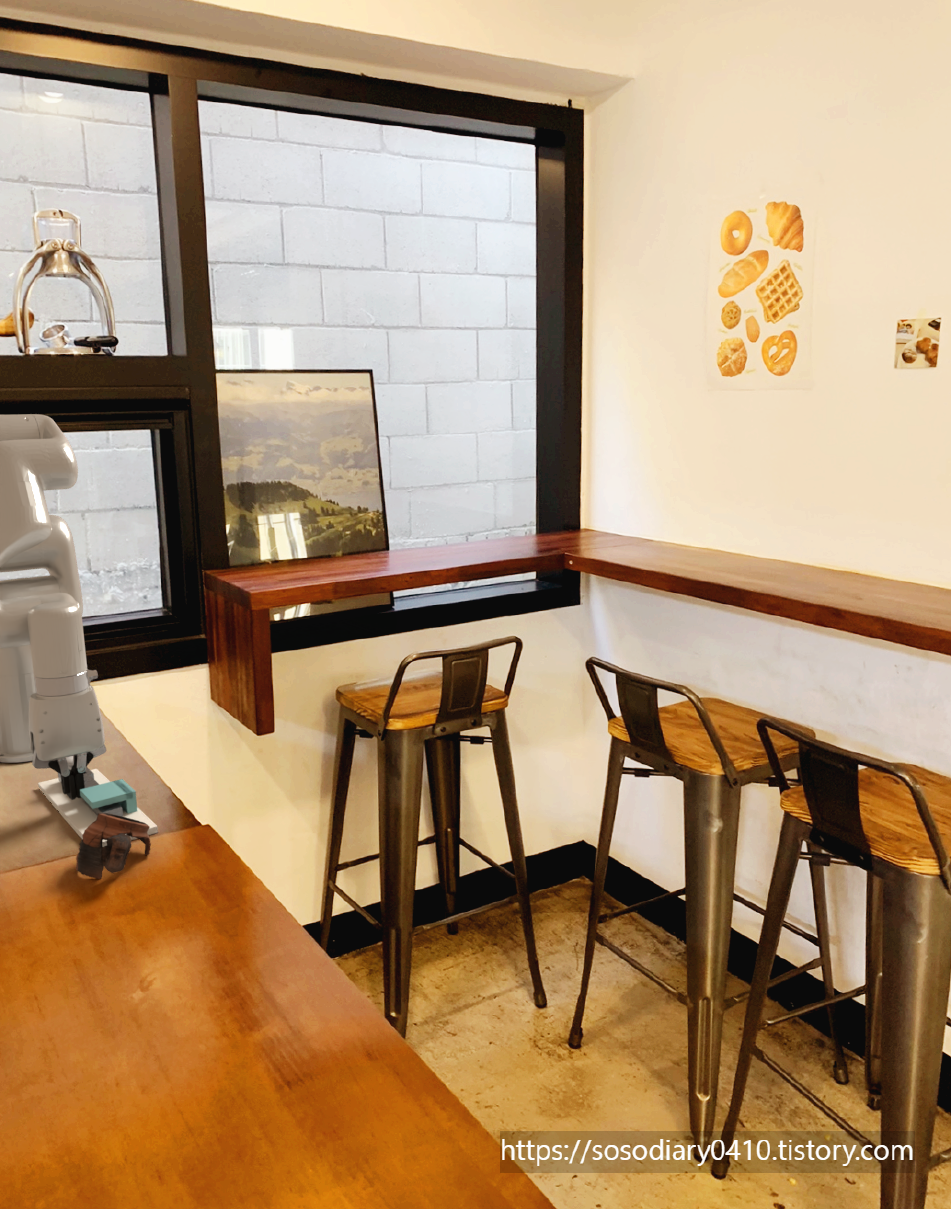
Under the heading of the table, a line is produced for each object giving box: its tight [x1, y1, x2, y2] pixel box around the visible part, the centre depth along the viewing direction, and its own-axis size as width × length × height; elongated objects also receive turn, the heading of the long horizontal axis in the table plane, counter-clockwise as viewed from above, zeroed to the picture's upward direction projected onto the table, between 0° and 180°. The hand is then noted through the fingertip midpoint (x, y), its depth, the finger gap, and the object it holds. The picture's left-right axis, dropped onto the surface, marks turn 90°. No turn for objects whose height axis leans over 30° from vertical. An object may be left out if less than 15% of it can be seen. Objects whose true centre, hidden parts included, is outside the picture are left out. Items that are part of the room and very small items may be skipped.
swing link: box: [57, 766, 123, 816], centre depth 150 cm, size 20×4×2 cm, turn 39°
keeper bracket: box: [80, 778, 138, 814], centre depth 146 cm, size 6×6×3 cm
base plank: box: [37, 756, 159, 847], centre depth 148 cm, size 28×10×5 cm, turn 39°
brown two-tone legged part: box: [75, 813, 152, 880], centre depth 131 cm, size 12×10×8 cm
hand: (74, 795), depth 148 cm, fingers closed
